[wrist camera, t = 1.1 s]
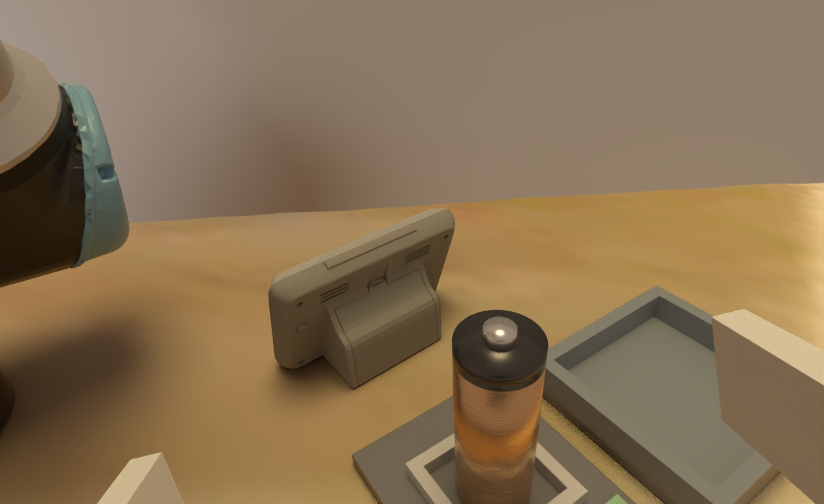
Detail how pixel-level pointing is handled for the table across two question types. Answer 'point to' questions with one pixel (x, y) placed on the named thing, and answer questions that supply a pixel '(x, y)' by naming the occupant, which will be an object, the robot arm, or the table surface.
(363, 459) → the checker pad
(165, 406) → the table surface
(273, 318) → the digital clock
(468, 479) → the cell
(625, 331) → the tray
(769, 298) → the table surface
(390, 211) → the table surface
